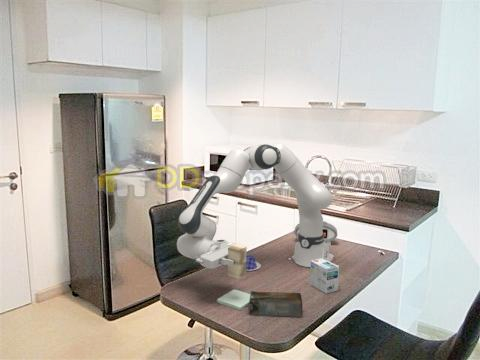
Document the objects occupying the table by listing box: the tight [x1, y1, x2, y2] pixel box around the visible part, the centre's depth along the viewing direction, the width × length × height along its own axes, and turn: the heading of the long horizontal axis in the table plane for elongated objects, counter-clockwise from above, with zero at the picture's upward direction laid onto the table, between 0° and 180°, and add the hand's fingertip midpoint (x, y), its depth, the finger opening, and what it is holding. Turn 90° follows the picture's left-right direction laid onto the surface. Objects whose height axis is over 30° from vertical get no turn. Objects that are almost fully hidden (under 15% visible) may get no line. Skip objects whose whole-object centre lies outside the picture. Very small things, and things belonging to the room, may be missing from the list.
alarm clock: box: [293, 220, 338, 246], centre depth 222 cm, size 23×6×13 cm, turn 79°
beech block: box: [227, 243, 248, 279], centre depth 153 cm, size 5×5×11 cm
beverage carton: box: [248, 290, 303, 318], centre depth 148 cm, size 8×19×7 cm, turn 86°
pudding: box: [246, 254, 262, 272], centre depth 189 cm, size 12×12×5 cm
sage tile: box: [216, 289, 250, 311], centre depth 155 cm, size 11×11×1 cm
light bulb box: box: [309, 258, 340, 294], centre depth 167 cm, size 11×7×11 cm, turn 30°
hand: (239, 260), depth 152 cm, fingers closed on beech block, 5 cm apart
